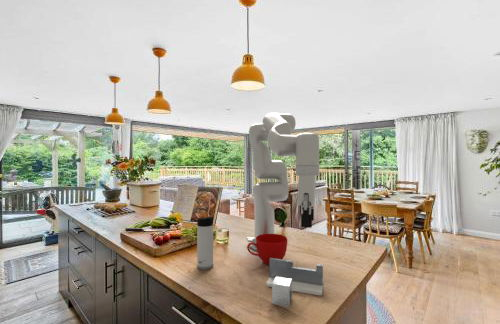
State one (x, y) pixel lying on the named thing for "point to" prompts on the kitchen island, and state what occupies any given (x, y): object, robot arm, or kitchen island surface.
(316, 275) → the rail
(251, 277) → the kitchen island surface
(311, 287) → the base board
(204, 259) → the travel mug
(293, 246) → the kitchen island surface
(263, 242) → the ceramic cup
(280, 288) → the clip
